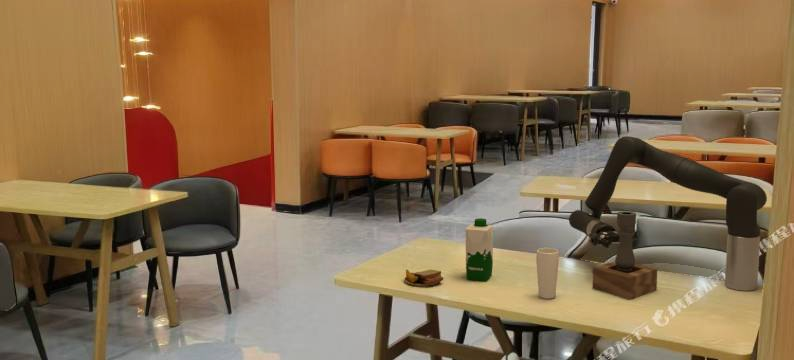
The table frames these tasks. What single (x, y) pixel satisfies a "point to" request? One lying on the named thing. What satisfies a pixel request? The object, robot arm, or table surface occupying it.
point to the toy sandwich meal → (423, 278)
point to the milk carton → (479, 250)
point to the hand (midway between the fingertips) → (620, 244)
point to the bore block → (625, 280)
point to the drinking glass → (547, 272)
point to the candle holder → (625, 241)
